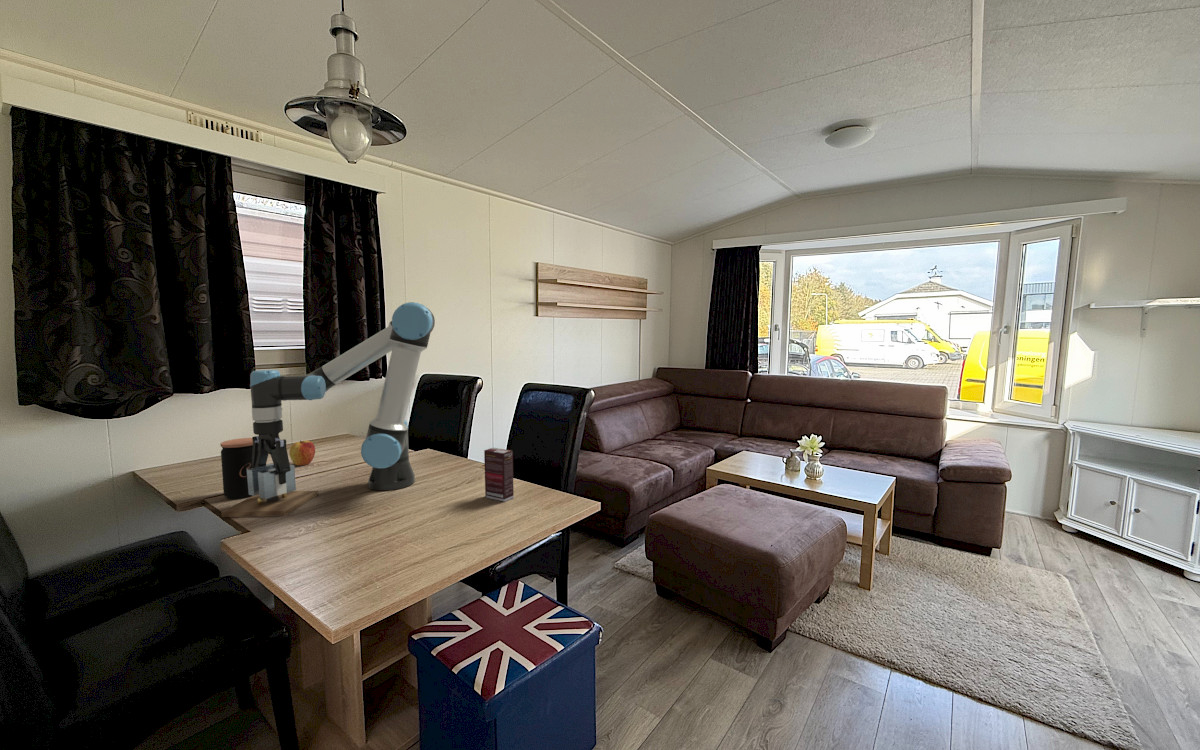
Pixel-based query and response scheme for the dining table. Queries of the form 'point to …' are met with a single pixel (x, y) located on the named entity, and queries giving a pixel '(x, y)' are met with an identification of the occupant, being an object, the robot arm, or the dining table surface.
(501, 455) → the supplement box
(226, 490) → the coffee jar
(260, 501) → the dowel pins
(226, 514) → the post base
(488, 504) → the dining table surface
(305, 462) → the apple
